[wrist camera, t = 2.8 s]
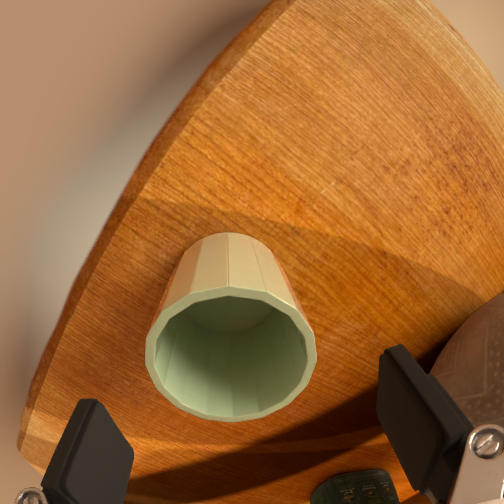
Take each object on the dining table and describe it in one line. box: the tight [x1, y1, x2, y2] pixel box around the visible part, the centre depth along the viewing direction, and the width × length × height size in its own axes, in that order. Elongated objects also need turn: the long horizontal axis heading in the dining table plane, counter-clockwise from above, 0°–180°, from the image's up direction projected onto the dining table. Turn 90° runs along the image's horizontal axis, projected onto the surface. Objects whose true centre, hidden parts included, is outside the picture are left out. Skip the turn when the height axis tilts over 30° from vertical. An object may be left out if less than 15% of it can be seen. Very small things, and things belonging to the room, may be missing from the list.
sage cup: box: [145, 232, 317, 423], centre depth 16 cm, size 7×7×8 cm
